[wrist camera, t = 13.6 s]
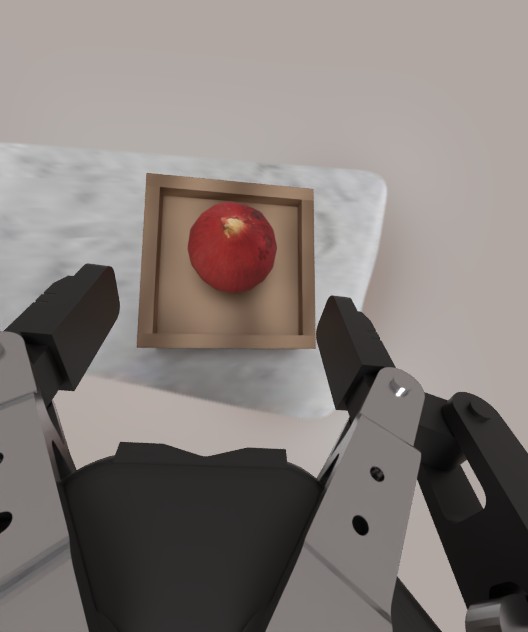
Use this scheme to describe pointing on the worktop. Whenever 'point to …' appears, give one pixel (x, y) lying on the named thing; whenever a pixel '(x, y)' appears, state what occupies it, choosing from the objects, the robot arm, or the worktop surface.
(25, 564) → the robot arm
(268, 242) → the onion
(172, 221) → the brown wooden box
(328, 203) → the worktop surface
